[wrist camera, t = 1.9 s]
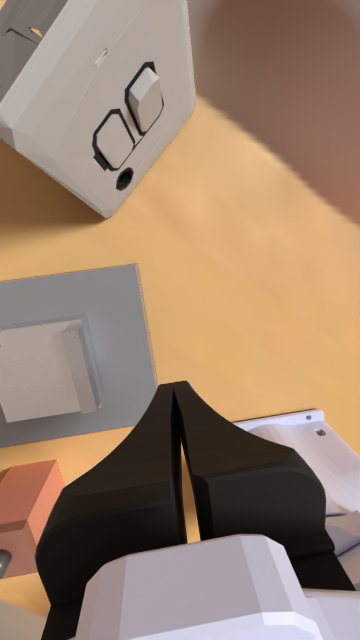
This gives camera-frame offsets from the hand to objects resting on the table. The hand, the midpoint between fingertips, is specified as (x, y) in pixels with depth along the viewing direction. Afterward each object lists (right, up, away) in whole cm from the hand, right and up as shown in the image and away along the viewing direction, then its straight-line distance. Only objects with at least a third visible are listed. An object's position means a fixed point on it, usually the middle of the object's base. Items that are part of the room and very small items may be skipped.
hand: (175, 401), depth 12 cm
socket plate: (-11, +1, +9) cm, 14 cm away
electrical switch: (-4, +16, +5) cm, 17 cm away
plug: (-13, -11, +12) cm, 20 cm away
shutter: (-9, +1, +6) cm, 11 cm away
